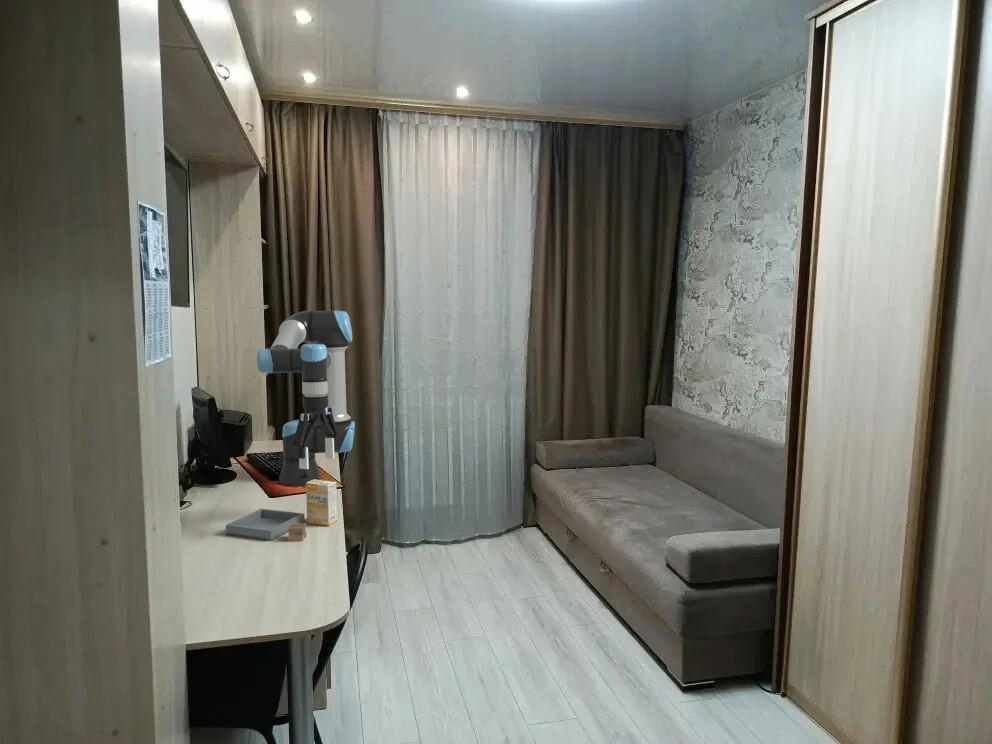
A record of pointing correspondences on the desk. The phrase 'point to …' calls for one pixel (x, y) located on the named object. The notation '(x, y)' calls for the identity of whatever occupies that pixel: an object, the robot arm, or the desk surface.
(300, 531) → the walnut block
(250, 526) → the tray
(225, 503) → the desk surface
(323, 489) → the supplement box
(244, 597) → the desk surface
